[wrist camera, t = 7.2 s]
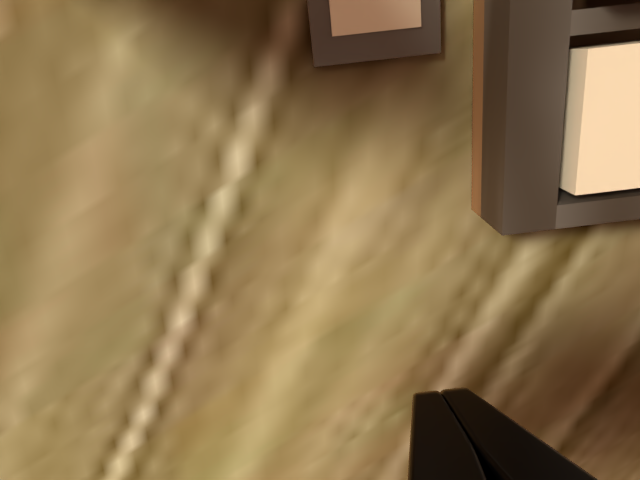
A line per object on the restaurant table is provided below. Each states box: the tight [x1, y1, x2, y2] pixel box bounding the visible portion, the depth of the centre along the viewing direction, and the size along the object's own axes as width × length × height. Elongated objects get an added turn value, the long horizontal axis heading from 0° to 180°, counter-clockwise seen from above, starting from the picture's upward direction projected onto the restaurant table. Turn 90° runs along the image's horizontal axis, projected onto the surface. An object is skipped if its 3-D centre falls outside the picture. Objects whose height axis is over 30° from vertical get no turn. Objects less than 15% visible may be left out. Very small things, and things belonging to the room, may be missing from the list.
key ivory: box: [559, 40, 640, 195], centre depth 16 cm, size 4×4×2 cm
